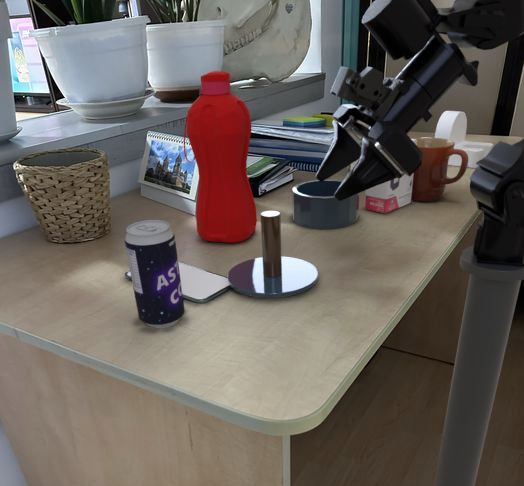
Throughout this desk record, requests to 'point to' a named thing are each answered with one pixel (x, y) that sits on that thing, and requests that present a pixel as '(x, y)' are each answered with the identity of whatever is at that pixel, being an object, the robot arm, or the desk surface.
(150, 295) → the beverage can
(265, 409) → the desk surface
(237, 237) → the water bottle
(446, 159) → the mug
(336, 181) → the pot
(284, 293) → the lid
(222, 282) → the smartphone
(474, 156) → the tape dispenser
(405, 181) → the ink box
